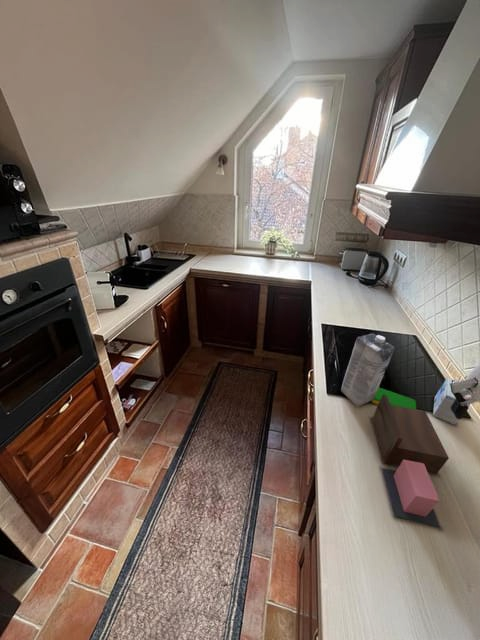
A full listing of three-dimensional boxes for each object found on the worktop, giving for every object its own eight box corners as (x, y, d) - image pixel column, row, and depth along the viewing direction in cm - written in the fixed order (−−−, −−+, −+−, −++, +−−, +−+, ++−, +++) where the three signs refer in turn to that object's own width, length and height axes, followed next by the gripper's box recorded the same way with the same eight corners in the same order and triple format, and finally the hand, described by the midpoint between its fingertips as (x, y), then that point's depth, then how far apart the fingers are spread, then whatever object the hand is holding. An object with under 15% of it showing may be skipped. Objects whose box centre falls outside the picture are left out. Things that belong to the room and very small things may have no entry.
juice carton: (357, 410, 91) (380, 350, 77) (336, 390, 99) (354, 332, 86) (375, 402, 94) (400, 344, 81) (354, 383, 103) (373, 327, 89)
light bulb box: (434, 397, 97) (446, 376, 92) (455, 405, 94) (469, 384, 89) (432, 415, 90) (446, 394, 84) (455, 425, 87) (471, 404, 81)
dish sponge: (373, 390, 100) (374, 385, 99) (413, 404, 94) (415, 400, 93) (371, 402, 94) (373, 397, 93) (413, 418, 89) (416, 413, 88)
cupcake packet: (412, 479, 71) (424, 463, 66) (425, 516, 63) (439, 501, 59) (393, 475, 71) (403, 459, 67) (403, 511, 64) (415, 495, 60)
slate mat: (420, 477, 72) (420, 476, 71) (439, 527, 62) (439, 526, 61) (382, 469, 73) (382, 468, 73) (394, 516, 63) (395, 515, 63)
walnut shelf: (415, 426, 86) (430, 402, 80) (436, 474, 72) (456, 449, 66) (371, 418, 88) (382, 394, 82) (384, 463, 75) (398, 438, 69)
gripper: (561, 351, 49) (513, 410, 58) (461, 340, 52) (429, 398, 61) (600, 377, 43) (539, 440, 52) (483, 364, 46) (444, 425, 55)
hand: (479, 417), depth 56 cm, fingers open, 9 cm apart
